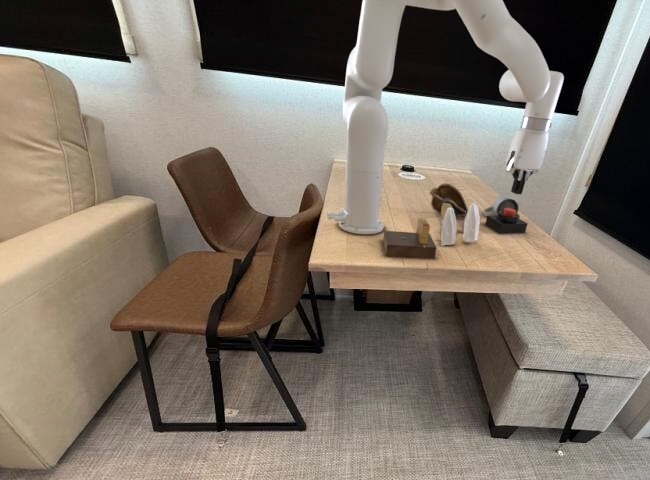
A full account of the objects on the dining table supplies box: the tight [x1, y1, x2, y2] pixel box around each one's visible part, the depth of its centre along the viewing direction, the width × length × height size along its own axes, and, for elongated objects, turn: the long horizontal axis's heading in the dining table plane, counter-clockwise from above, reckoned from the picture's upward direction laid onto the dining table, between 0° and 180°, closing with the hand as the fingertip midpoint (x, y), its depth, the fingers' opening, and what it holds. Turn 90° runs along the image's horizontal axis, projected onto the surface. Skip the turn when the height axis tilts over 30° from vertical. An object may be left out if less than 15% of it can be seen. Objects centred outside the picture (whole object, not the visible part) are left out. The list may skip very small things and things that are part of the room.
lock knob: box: [415, 217, 431, 244], centre depth 80 cm, size 6×2×5 cm, turn 6°
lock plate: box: [382, 230, 441, 260], centre depth 82 cm, size 14×10×3 cm
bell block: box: [484, 211, 529, 235], centre depth 105 cm, size 10×8×5 cm
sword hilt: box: [429, 182, 469, 233], centre depth 101 cm, size 10×24×15 cm
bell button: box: [503, 208, 516, 216], centre depth 103 cm, size 4×4×2 cm
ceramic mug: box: [483, 194, 520, 217], centre depth 115 cm, size 11×8×8 cm
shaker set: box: [440, 202, 481, 247], centre depth 88 cm, size 12×4×11 cm, turn 107°
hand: (516, 193), depth 100 cm, fingers closed
